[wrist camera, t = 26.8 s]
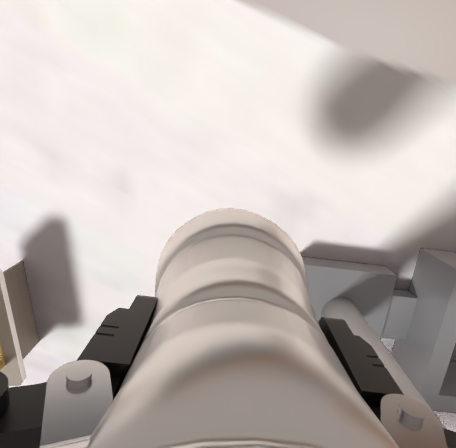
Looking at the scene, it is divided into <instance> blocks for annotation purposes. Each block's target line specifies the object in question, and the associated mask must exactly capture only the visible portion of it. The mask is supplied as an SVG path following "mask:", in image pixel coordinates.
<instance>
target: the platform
mask: <svg viewBox="0 0 456 448" xmlns="http://www.w3.org/2000/svg"><path fill="white" fill-rule="evenodd" d="M38 342H39V338H38V333H37V328H36V323H35V318H34V313H33V308H32V303H31V299H30V294H29V289H28V284H27V279H26V274H25V269H24V264H23V261H20V262H19V263H17V264H16V265H14V266H12V267H11V268H9V269H7V270H6V271H4V272H2V270H1V269H0V354H1V355H0V359H1V358H2V359H1V360H0V372H2V373H4V374H5V375H6V376H7V378H8V384H9V386H18V385H21V384H22V382H23V381H24V380H25V379H26V373H25V368H24V364H23V359H24V358H25V356H26V355H27V354H28V353H29V352H30V351H31V350H32V349H33V348H34V347H35V345H36V344H37V343H38Z"/></svg>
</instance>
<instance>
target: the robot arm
mask: <svg viewBox="0 0 456 448" xmlns="http://www.w3.org/2000/svg"><path fill="white" fill-rule="evenodd" d="M157 300H158V298H157V297H149V296H141V295H137V296H136V298H135V300H134V302H133V303H132V305H131V307H130V309H124V308H118V309H116V310H115V311H113V312H112V313H110V314H108V315H107V316H106V318H105V319H104V321H103V322H102V324H101V326H100V327H99V328H98V330H97V331H96V333H95V335H94V336H93V337H92V339H91V340H90V342H89V343H88V345H87V346H86V348H85V349H84V350H83V352H82V353H81V355H80V356H79V358H78V359H77V361H73V362H70V363H67V364H65V365H63V366H61V367H59V368H58V369H56V370H55V371H54V372H53V373H52V374H51V375H50V376H49V378H48V381H47V382H45V383H41V384H35V385H27V386H19V387H11V388H9V384H8V378H7V376H6V375H5V374H4V373H2V372H0V448H86V447H87V445H88V444H89V442H90V439H89V438H90V437H91V435H92V433H93V432H94V430H95V429H96V427H97V425H98V424H99V422H100V421H101V419H102V417H103V416H104V414H105V413H106V411H107V410H108V408H109V406H110V405H111V403H112V402H113V400H114V398H115V397H116V395H117V393H118V391H119V389H120V387H121V385H122V383H123V381H124V378H125V376H126V374H127V372H128V370H129V368H130V366H131V364H132V362H133V360H134V358H135V356H136V354H137V352H138V351H139V349H140V346H141V343H142V341H143V339H144V337H145V335H146V333H147V331H148V329H149V327H150V323H151V319H152V315H153V312H154V309H155V306H156V303H157ZM319 326H320V328H321V330H322V332H323V333H324V335H325V337H326V339H327V341H328V343H329V345H330V346H331V347H332V349H333V350H334V352H335V354H336V356H337V357H338V359H339V361H340V362H341V364H342V366H343V367H344V369H345V371H346V373H347V374H348V376H349V378H350V379H351V381H352V383H353V385H354V386H355V388H356V390H357V391H358V393H359V394H360V395H361V397H362V398H363V399H364V401H365V402H366V403H367V405H368V406H369V407H370V409H371V410H372V411H373V413H374V414H375V415H376V417H377V418H378V419H379V421H380V422H381V423H382V425H383V426H384V427H385V429H386V430H387V432H388V433H389V434H390V436H391V437H392V438H393V440H394V441H395V442H396V444H397V445H398V446H399V448H456V432H453V431H450V430H447V429H445V428H443V426H442V423H441V421H440V419H439V418H438V417H437V415H436V414H435V413H434V412H433V411H432V410H431V409H430V408H428V407H427V406H426V405H424V404H423V403H421V402H419V401H417V400H415V399H413V398H411V397H409V396H405V395H404V394H403V392H402V391H401V389H400V388H399V386H398V385H397V383H396V382H395V380H394V379H393V377H392V376H391V374H390V373H389V371H388V370H387V368H385V367H384V364H383V362H382V361H381V359H379V358H378V355H377V353H376V352H375V350H374V349H373V347H372V346H371V345H370V344H369V343H367V342H366V341H365V340H364V339H362V338H361V337H360V336H357V335H354V334H353V333H352V331H351V329H350V328H349V326H348V325H347V323H346V321H345V320H344V319H336V318H328V317H321V318H320V320H319Z"/></svg>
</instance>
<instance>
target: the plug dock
mask: <svg viewBox="0 0 456 448" xmlns="http://www.w3.org/2000/svg"><path fill="white" fill-rule="evenodd" d="M302 259H303V263H304V267H305V271H306V275H307V279H308V283H309V296H310V299H311V302H312V305H313V308H314V311H315V314H316V317H317V320H318V323H319V320H320V318H321V317H328V318H336V319H344V320H345V321H346V323H347V325H348V326H349V328H350V329H351V331H352V333H353V334H354V335H357V336H360V337H361V338H362V339H364V340H365V341H366V342H367V343H369V344H370V345H371V346H372V347H373V349H374V350H375V352H376V353H377V355H378V358H379V359H381V361H382V362H383V364H384V367H385V368H387V370H388V371H389V373H390V374H391V376H392V377H393V379H394V380H395V382H396V383H397V385H398V386H399V388H400V389H401V391H402V392H403V394H404V395H405V396H409V397H411V398H413V399H415V400H417V401H419V402H421V403H423V404H424V405H426V406H427V407H428V408H430V409H431V410H432V411H439V412H449V413H456V361H450V359H451V356H452V353H453V350H454V347H455V344H456V252H449V251H441V250H433V249H424V248H421V249H420V253H419V256H418V260H417V263H416V267H415V271H414V274H413V278H412V281H411V285H410V289H409V291H407V290H399V289H394V287H395V283H396V279H397V275H396V274H395V273H394V272H393V271H391V270H390V269H389V268H388V267H387V266H379V265H370V264H362V263H353V262H345V261H336V260H328V259H319V258H311V257H302ZM381 337H383V338H392V339H395V342H394V346H393V350H392V353H390V352H389V351H388V349H387V348H386V347H385V345H384V344H383V343H382V341H381ZM442 426H443V428H445V427H444V425H443V424H442ZM445 429H446V428H445Z"/></svg>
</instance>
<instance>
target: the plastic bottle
mask: <svg viewBox="0 0 456 448" xmlns="http://www.w3.org/2000/svg"><path fill="white" fill-rule="evenodd" d="M155 297H157V298H158V300H157V303H156V306H155V309H154V312H153V315H152V319H151V323H150V327H149V329H148V331H147V333H146V335H145V337H144V339H143V341H142V343H141V346H140V349H139V351H138V352H137V354H136V356H135V358H134V360H133V362H132V364H131V366H130V368H129V370H128V372H127V374H126V376H125V378H124V381H123V383H122V385H121V387H120V389H119V391H118V393H117V395H116V397H115V398H114V400H113V402H112V403H111V405H110V406H109V408H108V410H107V411H106V413H105V414H104V416H103V417H102V419H101V421H100V422H99V424H98V425H97V427H96V429H95V430H94V432H93V433H92V435H91V437H90V438H89V439H90V442H89V444H88V445H87V447H86V448H399V446H398V445H397V444H396V442H395V441H394V440H393V438H392V437H391V436H390V434H389V433H388V432H387V430H386V429H385V427H384V426H383V425H382V423H381V422H380V421H379V419H378V418H377V417H376V415H375V414H374V413H373V411H372V410H371V409H370V407H369V406H368V405H367V403H366V402H365V401H364V399H363V398H362V397H361V395H360V394H359V393H358V391H357V390H356V388H355V386H354V385H353V383H352V381H351V379H350V378H349V376H348V374H347V373H346V371H345V369H344V367H343V366H342V364H341V362H340V361H339V359H338V357H337V356H336V354H335V352H334V350H333V349H332V347H331V346H330V345H329V343H328V341H327V339H326V337H325V335H324V333H323V332H322V330H321V328H320V326H319V323H318V320H317V317H316V314H315V311H314V308H313V305H312V302H311V299H310V296H309V283H308V279H307V275H306V271H305V267H304V263H303V259H302V256H301V254H300V252H299V250H298V248H297V246H296V244H295V243H294V242H293V241H292V239H291V238H290V237H289V236H288V234H287V233H286V232H284V231H283V230H282V229H281V228H280V227H278V226H277V225H276V224H274V223H273V222H271V221H269V220H267V219H266V218H264V217H262V216H260V215H258V214H256V213H253V212H250V211H247V210H242V209H234V208H226V209H216V210H212V211H208V212H205V213H203V214H201V215H199V216H197V217H195V218H193V219H191V220H190V221H188V222H187V223H186V224H184V225H183V226H181V227H180V228H179V229H177V231H176V232H175V233H174V234H173V235H172V236H171V237H170V238H169V240H168V241H167V243H166V245H165V247H164V248H163V250H162V252H161V256H160V259H159V262H158V267H157V273H156V283H155Z"/></svg>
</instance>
